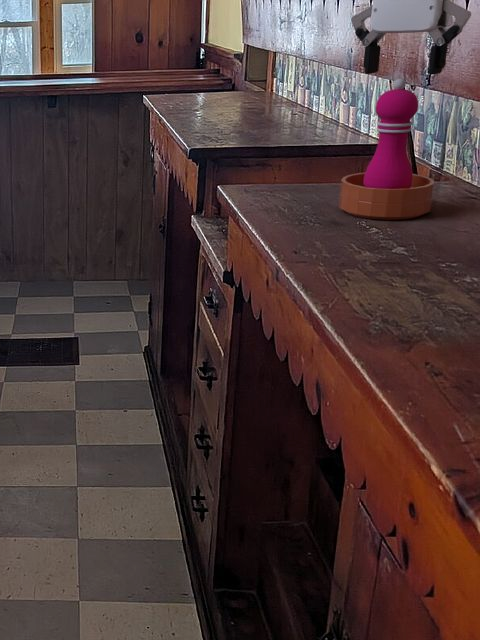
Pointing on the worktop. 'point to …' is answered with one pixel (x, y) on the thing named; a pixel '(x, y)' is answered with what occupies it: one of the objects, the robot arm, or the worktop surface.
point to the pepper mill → (392, 139)
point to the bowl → (385, 198)
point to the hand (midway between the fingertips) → (402, 73)
